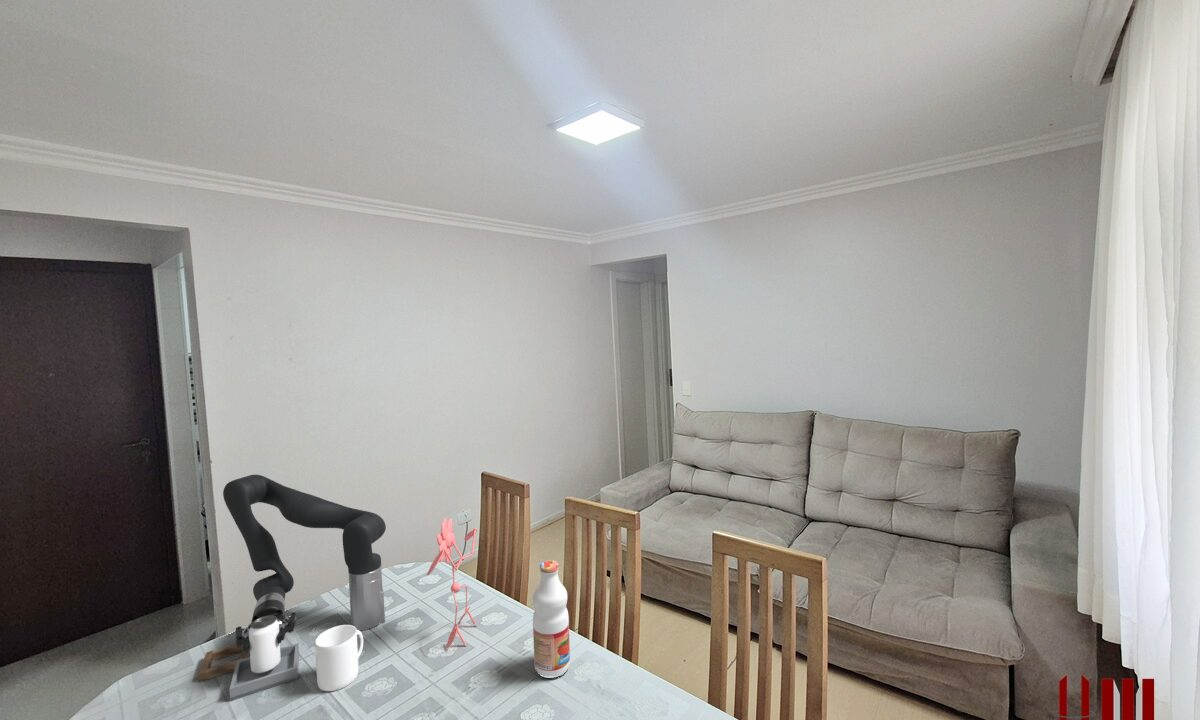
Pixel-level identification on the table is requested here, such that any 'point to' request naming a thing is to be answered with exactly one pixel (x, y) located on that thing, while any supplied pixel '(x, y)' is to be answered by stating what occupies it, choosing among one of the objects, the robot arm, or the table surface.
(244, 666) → the grey shallow rectangular tray
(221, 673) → the walnut collar
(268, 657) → the can
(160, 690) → the table surface
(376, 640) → the table surface
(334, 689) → the mug
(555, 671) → the fruit juice
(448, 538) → the figurine
